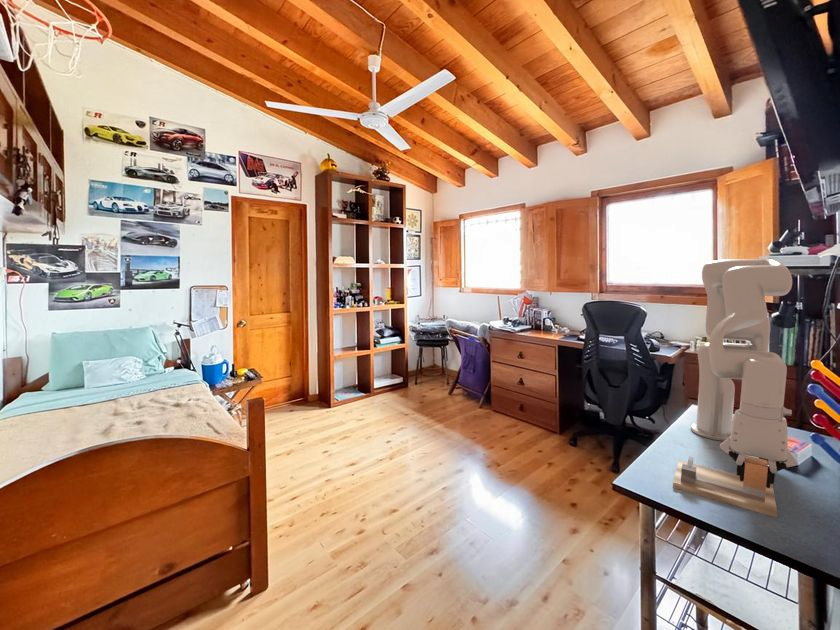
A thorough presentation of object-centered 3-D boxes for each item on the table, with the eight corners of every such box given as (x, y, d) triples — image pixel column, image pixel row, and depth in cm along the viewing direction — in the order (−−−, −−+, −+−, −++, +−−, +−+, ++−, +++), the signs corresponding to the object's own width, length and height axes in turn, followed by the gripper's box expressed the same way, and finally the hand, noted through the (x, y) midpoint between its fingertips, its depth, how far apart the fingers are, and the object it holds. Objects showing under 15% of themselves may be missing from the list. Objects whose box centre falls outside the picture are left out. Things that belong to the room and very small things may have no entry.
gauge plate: (678, 464, 110) (679, 448, 109) (771, 489, 97) (773, 470, 97) (672, 487, 99) (673, 469, 99) (776, 517, 87) (778, 497, 86)
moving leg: (741, 480, 98) (744, 447, 97) (762, 485, 96) (765, 452, 95) (742, 496, 91) (745, 462, 90) (764, 503, 89) (767, 467, 88)
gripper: (808, 412, 86) (800, 486, 89) (716, 398, 97) (711, 464, 99) (814, 423, 81) (805, 502, 83) (715, 407, 91) (710, 477, 94)
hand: (754, 481), depth 91 cm, fingers closed on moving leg, 4 cm apart
